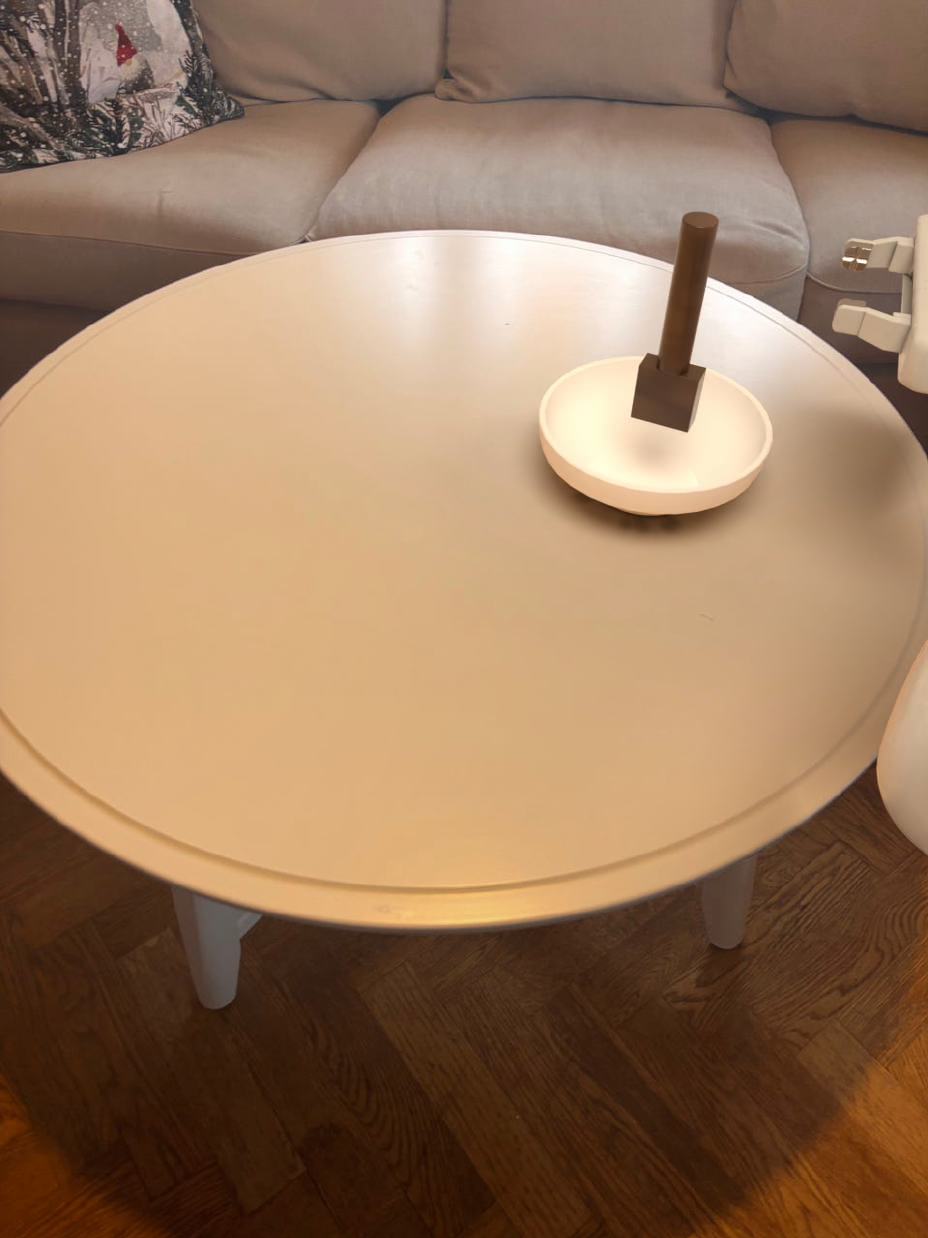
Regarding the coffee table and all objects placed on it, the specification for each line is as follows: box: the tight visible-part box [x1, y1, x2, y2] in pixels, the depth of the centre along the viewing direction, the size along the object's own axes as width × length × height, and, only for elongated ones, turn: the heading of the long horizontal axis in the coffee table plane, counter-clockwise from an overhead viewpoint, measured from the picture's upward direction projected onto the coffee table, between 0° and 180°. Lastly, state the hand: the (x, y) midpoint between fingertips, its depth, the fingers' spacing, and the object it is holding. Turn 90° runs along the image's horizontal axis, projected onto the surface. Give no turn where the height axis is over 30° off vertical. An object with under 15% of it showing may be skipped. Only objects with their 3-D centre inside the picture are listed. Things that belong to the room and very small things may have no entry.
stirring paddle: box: [631, 211, 720, 433], centre depth 75 cm, size 5×3×17 cm, turn 64°
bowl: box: [538, 355, 774, 516], centre depth 84 cm, size 20×20×7 cm
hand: (839, 281), depth 69 cm, fingers open, 8 cm apart
